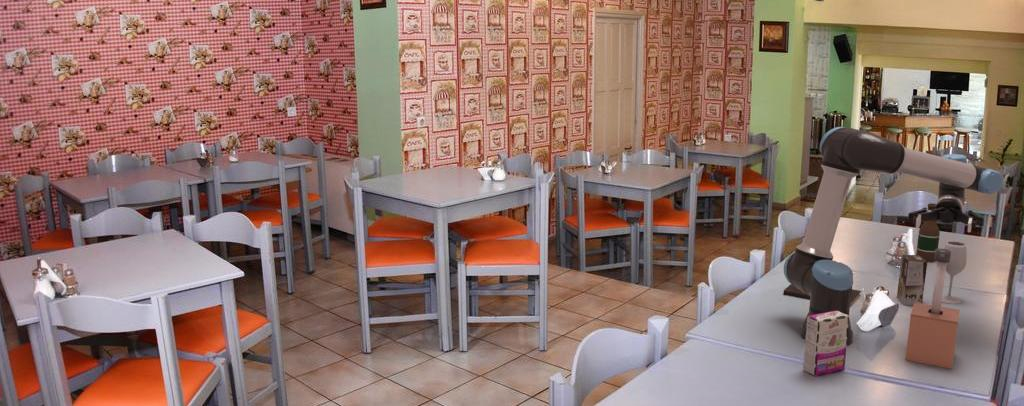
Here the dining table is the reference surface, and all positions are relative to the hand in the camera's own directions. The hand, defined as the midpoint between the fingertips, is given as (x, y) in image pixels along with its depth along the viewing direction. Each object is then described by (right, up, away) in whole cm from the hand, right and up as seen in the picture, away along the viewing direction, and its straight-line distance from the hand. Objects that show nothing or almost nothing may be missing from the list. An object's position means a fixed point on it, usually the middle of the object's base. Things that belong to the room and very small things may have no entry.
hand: (942, 226), depth 238 cm
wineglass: (+28, -28, +48) cm, 62 cm away
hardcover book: (-15, -27, +53) cm, 62 cm away
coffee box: (+13, -28, +47) cm, 56 cm away
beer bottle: (+46, -17, +98) cm, 110 cm away
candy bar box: (-40, -41, -11) cm, 58 cm away
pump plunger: (-5, -28, -5) cm, 29 cm away
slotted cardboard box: (-5, -38, -1) cm, 39 cm away
